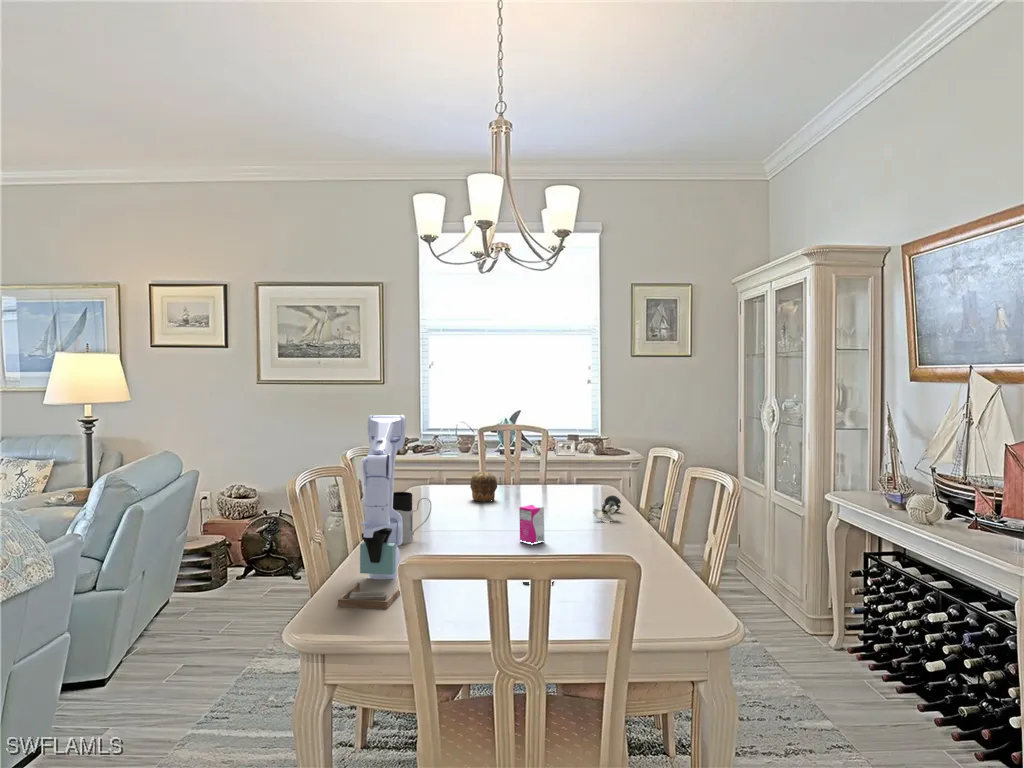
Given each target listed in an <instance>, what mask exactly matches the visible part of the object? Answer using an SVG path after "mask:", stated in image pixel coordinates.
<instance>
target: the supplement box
mask: <svg viewBox="0 0 1024 768" xmlns="http://www.w3.org/2000/svg"><path fill="white" fill-rule="evenodd" d="M518 508H519V509H518V510H519V541H520V540H522V541H526V542H531V543H534V542H538V541H544V542H545V507H544V506H541V505H534V504H529V505H524V506H519V507H518Z"/></svg>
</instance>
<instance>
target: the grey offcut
mask: <svg viewBox="0 0 1024 768" xmlns="http://www.w3.org/2000/svg"><path fill="white" fill-rule="evenodd" d="M349 599H356V600H376V601H386V600H387V591H357V592H352V593H351V595H350V598H349Z"/></svg>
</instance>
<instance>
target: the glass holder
mask: <svg viewBox="0 0 1024 768" xmlns="http://www.w3.org/2000/svg"><path fill="white" fill-rule="evenodd" d="M422 500H427V501H428V502H429V503H430V505H429V506H430V507H429V513H428V514H427V517H426V519H424V521H423V522H422V523H421V524H420V525H418V526H417V527H416V528H415V529H413V528H414V524H413V523H414V522H413V521H414V519H413V518H414V517H413V516H414V513H413V512H417V511H418V510H419V507H420V506H419V505H420V502H421V501H422ZM416 505H417V508H416V509H413V492H409V491H393V509H394V510H395V511H396V512H398V513H399V514H400V515H401V517H402V524H403V539H402V543H401V544H400V545H404V544H403V543H407V544H410V543H409V542H411V543H413V542H414V541H415V538H414V535H415V532H416V531H417V530H418V529H419V528H420V527H422V526H423V525H424V524H425V523H426V522H427V521H428V519H429V517H430V515H431V513H432V501H431V499H429V498H428V497H421V498H420V499H419V500H418V501H417V504H416ZM413 540H414V541H413ZM412 541H413V542H412Z"/></svg>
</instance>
